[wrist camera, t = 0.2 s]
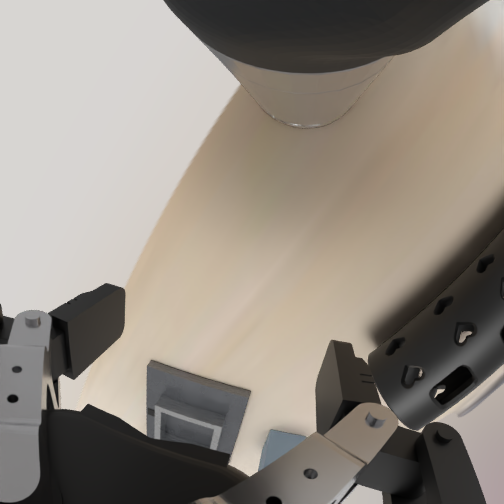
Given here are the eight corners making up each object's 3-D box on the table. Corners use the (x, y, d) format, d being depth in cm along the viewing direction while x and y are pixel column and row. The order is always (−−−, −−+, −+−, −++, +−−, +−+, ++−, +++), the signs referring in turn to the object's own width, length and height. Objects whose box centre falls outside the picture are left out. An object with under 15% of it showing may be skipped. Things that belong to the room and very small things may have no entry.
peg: (270, 429, 35) (258, 493, 25) (305, 436, 34) (300, 500, 25) (262, 449, 36) (249, 509, 27) (295, 455, 36) (288, 515, 26)
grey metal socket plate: (151, 360, 35) (139, 375, 32) (250, 391, 33) (245, 409, 30) (150, 438, 40) (142, 452, 36) (228, 463, 38) (223, 480, 35)
